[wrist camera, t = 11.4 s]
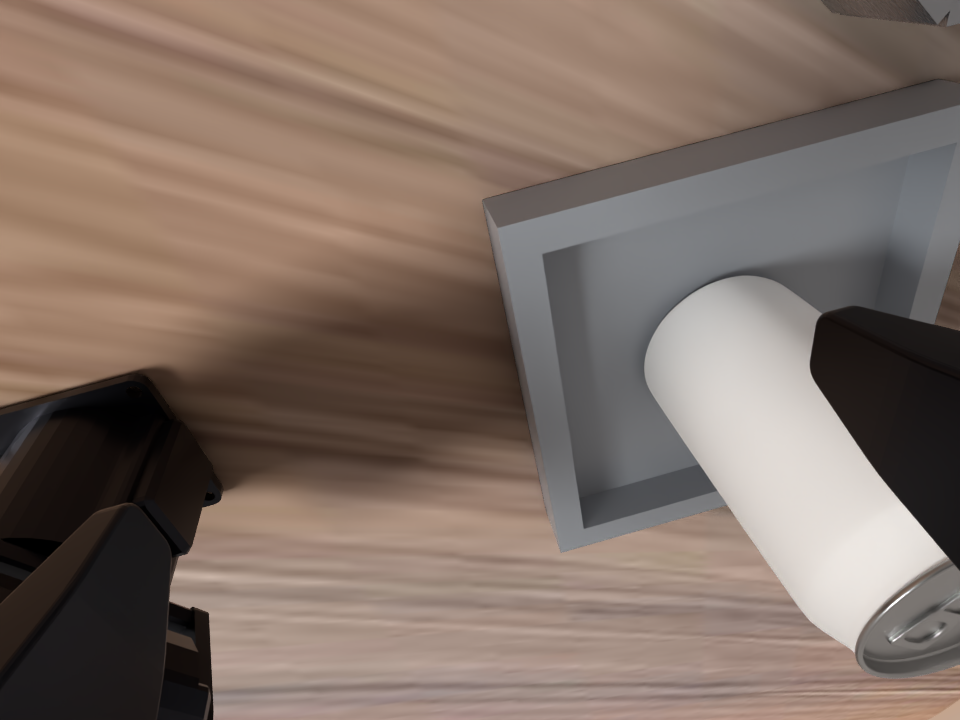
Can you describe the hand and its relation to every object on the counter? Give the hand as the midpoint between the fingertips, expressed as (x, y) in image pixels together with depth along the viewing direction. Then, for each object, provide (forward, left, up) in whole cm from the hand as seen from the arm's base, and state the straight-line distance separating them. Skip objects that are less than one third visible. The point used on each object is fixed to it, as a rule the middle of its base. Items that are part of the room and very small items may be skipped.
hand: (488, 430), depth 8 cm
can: (+10, -10, -12) cm, 19 cm away
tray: (+10, -10, -13) cm, 19 cm away
